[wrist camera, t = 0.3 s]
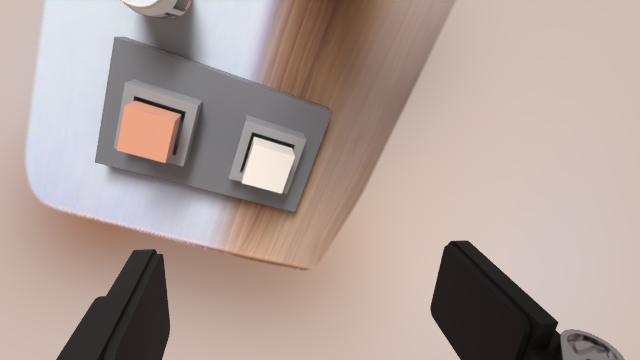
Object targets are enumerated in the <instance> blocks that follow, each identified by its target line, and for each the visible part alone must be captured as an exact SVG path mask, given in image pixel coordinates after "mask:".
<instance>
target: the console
mask: <svg viewBox="0 0 640 360" xmlns="http://www.w3.org/2000/svg"><path fill="white" fill-rule="evenodd" d="M133 101H138V102H142V103H145V104H148V105H151V106H155V107H158V108H161V109H165V110H168V111H171V112H175V113H178V114H181V118H180V123H179V127H178V131H177V136H176V140H175V144H174V149H173V153H172V155H171V156H170V157H169V159H168V160H167V162H166V163H163V162H159V161H155V160H152V159H148V158H144V157H140V156H136V155H133V154H129V153H125V152H121V151H117V145H118V140H119V134H120V128H121V123H122V117H123V111H124V106H125V105H127V104H129V103H131V102H133ZM331 114H332V111H331V110H330V109H329V108H327V107H325V106H322V105H319V104H316V103H313V102H310V101H307V100H304V99H302V98H299V97H296V96H293V95H290V94H287V93H284V92H281V91H279V90H276V89H273V88H270V87H267V86H264V85H261V84H259V83H256V82H253V81H250V80H247V79H244V78H241V77H238V76H236V75H233V74H230V73H227V72H224V71H221V70H218V69H216V68H213V67H210V66H207V65H204V64H201V63H198V62H195V61H193V60H190V59H187V58H184V57H181V56H178V55H175V54H172V53H170V52H167V51H164V50H161V49H158V48H155V47H152V46H150V45H147V44H144V43H141V42H138V41H135V40H132V39H129V38H127V37H114V44H113V50H112V57H111V63H110V69H109V76H108V82H107V89H106V95H105V101H104V108H103V114H102V121H101V127H100V133H99V140H98V146H97V152H96V159H95V162H96V163H100V164H104V165H108V166H112V167H116V168H120V169H124V170H128V171H132V172H136V173H140V174H144V175H148V176H152V177H156V178H160V179H164V180H168V181H172V182H176V183H180V184H184V185H188V186H192V187H196V188H200V189H204V190H208V191H212V192H216V193H220V194H224V195H228V196H232V197H236V198H240V199H244V200H248V201H252V202H256V203H260V204H264V205H268V206H272V207H276V208H280V209H284V210H288V211H292V212H295V211H296V208H297V205H298V203H299V200H300V197H301V195H302V192H303V189H304V187H305V184H306V181H307V179H308V176H309V173H310V171H311V168H312V165H313V163H314V160H315V157H316V155H317V152H318V149H319V146H320V144H321V141H322V138H323V136H324V133H325V130H326V128H327V125H328V122H329V120H330V117H331ZM254 137H257V138H260V139H264V140H267V141H270V142H273V143H277V144H280V145H283V146H287V147H290V148H292V149H293V152H294V155H295V158H294V161H293V164H292V166H291V169H290V172H289V175H288V178H287V181H286V183H285V186H284V189H283V192H282V194H281V193H277V192H274V191H270V190H266V189H262V188H258V187H255V186H251V185H247V184H243V183H242V176H243V171H244V167H245V164H246V161H247V158H248V154H249V151H250V148H251V144H252V141H253V138H254Z"/></svg>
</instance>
